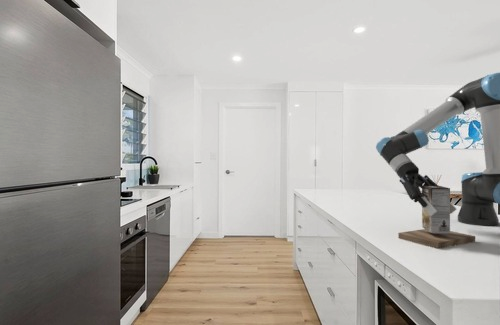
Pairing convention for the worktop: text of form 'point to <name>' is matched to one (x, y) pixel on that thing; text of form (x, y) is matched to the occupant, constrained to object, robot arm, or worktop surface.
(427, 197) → the coffee box
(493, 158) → the robot arm
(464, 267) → the worktop surface
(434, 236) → the walnut board
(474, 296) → the worktop surface
